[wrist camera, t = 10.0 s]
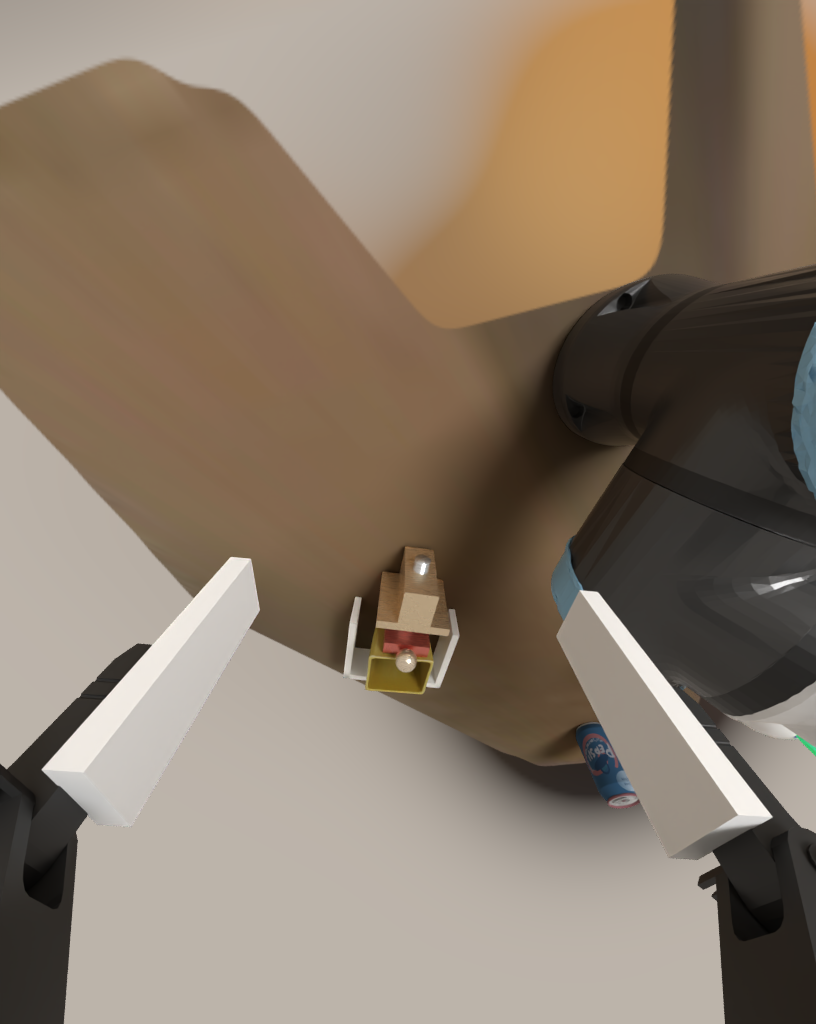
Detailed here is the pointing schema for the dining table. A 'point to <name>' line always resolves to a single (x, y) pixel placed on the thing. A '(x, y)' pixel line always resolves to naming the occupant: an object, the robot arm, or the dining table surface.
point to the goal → (359, 656)
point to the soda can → (605, 766)
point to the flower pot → (395, 670)
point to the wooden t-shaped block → (412, 608)
